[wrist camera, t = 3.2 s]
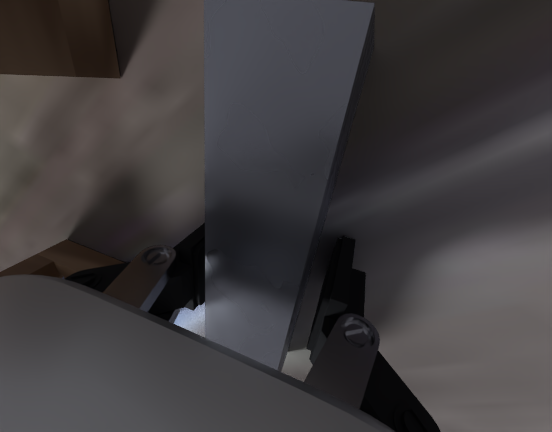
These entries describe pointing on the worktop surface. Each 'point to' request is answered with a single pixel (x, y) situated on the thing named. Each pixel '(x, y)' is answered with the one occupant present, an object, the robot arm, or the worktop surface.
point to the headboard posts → (58, 62)
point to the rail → (273, 155)
